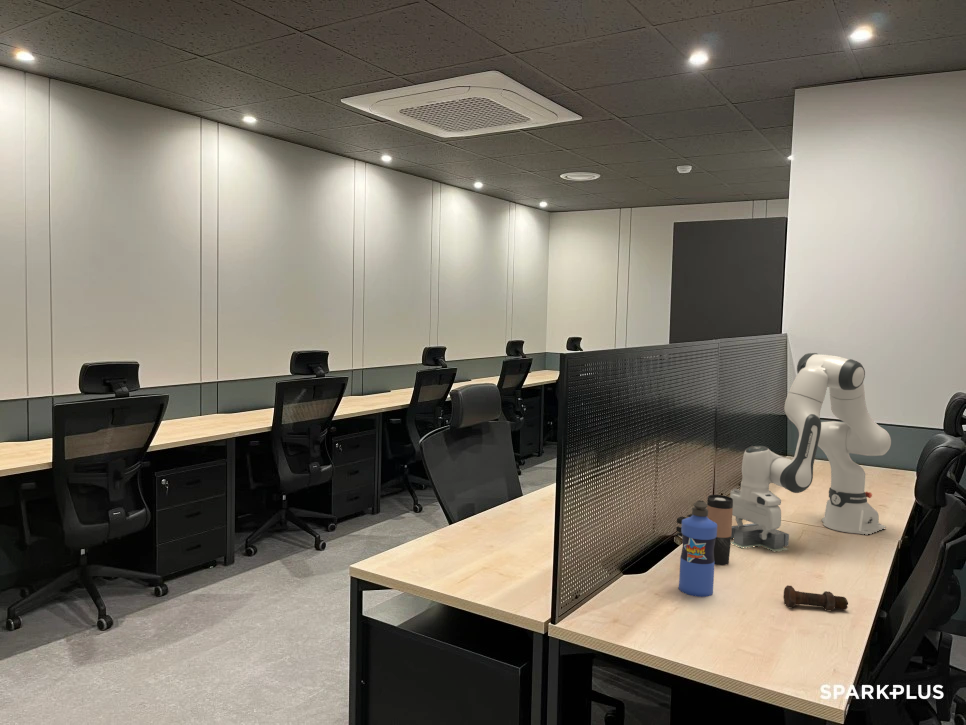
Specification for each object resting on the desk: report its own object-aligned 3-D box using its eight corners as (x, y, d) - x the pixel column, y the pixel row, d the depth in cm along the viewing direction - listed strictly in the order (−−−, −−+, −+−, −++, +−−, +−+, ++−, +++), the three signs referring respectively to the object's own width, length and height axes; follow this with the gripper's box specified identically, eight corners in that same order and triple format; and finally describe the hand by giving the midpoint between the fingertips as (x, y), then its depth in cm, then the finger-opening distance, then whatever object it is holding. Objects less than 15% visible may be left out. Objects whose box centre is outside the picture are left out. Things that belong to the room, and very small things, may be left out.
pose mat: (759, 538, 238) (759, 537, 238) (788, 549, 227) (788, 548, 227) (729, 543, 232) (729, 542, 232) (756, 554, 222) (756, 553, 221)
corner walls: (756, 533, 244) (757, 522, 244) (788, 545, 232) (789, 534, 231) (719, 539, 237) (719, 527, 236) (749, 551, 224) (750, 539, 224)
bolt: (845, 618, 179) (785, 611, 181) (840, 602, 184) (781, 595, 186) (852, 604, 176) (791, 597, 178) (846, 588, 180) (786, 581, 182)
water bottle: (683, 581, 196) (687, 495, 195) (716, 588, 192) (721, 500, 190) (674, 591, 188) (679, 502, 187) (709, 599, 184) (714, 507, 182)
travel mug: (729, 558, 217) (733, 496, 215) (729, 566, 209) (733, 502, 208) (704, 555, 219) (707, 493, 218) (703, 563, 212) (707, 499, 211)
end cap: (692, 540, 234) (693, 521, 233) (675, 535, 239) (676, 516, 239) (709, 535, 240) (710, 516, 240) (692, 530, 246) (693, 511, 245)
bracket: (733, 542, 232) (734, 528, 232) (759, 539, 237) (760, 524, 237) (756, 552, 223) (757, 537, 223) (783, 548, 228) (784, 533, 228)
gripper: (724, 487, 240) (722, 526, 240) (771, 502, 221) (768, 545, 222) (737, 486, 242) (735, 525, 243) (785, 501, 224) (782, 542, 225)
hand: (751, 534), depth 232 cm, fingers open, 8 cm apart
